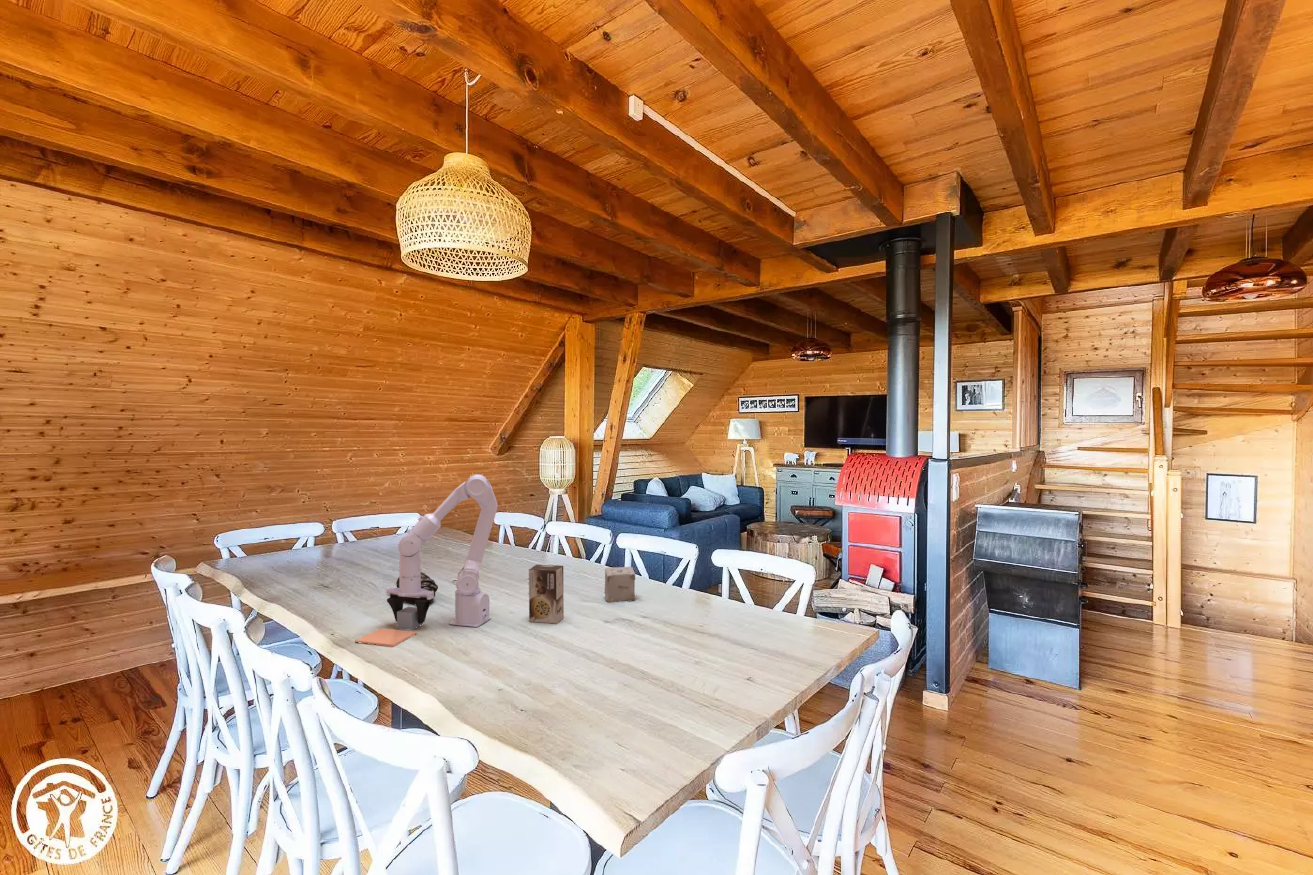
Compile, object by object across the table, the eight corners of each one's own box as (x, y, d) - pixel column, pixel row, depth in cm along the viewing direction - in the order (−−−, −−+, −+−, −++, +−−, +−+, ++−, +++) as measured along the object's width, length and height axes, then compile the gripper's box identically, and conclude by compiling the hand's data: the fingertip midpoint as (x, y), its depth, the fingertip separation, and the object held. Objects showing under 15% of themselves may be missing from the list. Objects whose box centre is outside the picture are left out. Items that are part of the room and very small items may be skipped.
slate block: (422, 624, 173) (422, 607, 173) (412, 630, 168) (412, 613, 168) (408, 623, 174) (408, 606, 174) (397, 628, 170) (397, 611, 169)
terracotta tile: (417, 634, 165) (417, 631, 165) (393, 647, 155) (393, 644, 155) (380, 630, 168) (380, 628, 168) (354, 642, 158) (354, 640, 158)
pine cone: (422, 608, 188) (422, 577, 188) (389, 599, 198) (389, 570, 198) (449, 600, 197) (449, 571, 197) (417, 592, 206) (417, 564, 206)
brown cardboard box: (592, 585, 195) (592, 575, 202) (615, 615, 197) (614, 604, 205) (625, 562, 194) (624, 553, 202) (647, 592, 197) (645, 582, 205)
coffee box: (564, 617, 180) (564, 565, 180) (556, 624, 174) (556, 570, 174) (536, 615, 182) (536, 563, 182) (528, 622, 176) (528, 568, 176)
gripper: (379, 577, 169) (379, 623, 169) (423, 580, 165) (423, 628, 166) (395, 571, 176) (395, 616, 176) (438, 574, 172) (438, 620, 173)
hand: (410, 621), depth 171 cm, fingers open, 7 cm apart
